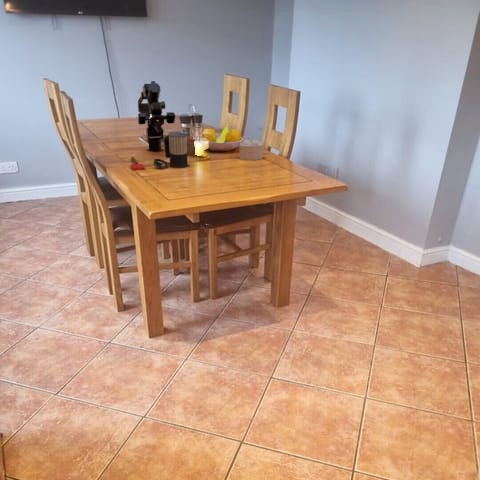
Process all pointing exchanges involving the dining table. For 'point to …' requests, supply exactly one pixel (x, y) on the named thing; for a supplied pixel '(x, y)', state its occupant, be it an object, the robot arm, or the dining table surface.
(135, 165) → the spatula
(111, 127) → the dining table surface
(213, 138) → the fruit bowl
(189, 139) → the tin
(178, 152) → the milk frother
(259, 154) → the lumpy-topped squat cylinder
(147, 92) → the robot arm
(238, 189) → the dining table surface
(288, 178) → the dining table surface
